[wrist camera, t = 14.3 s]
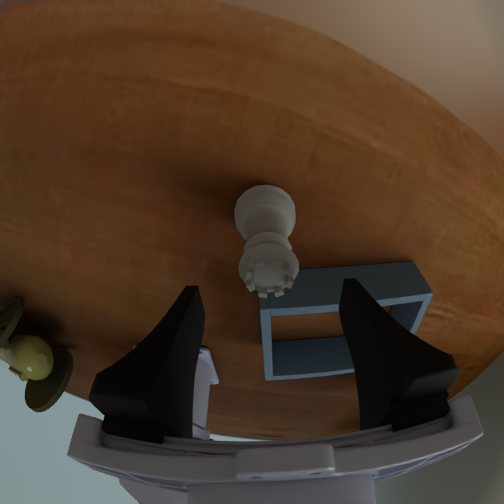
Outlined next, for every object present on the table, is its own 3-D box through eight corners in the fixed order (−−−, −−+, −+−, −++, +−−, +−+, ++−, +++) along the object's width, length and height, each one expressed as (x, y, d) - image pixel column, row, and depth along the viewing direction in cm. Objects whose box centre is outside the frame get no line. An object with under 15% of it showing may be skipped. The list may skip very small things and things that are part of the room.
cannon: (18, 356, 38) (-3, 401, 28) (-21, 313, 31) (-48, 358, 22) (90, 349, 32) (64, 419, 23) (33, 286, 26) (-12, 357, 17)
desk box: (264, 346, 30) (265, 380, 27) (258, 271, 24) (259, 309, 21) (388, 333, 30) (399, 364, 26) (413, 260, 24) (433, 292, 20)
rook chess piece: (300, 227, 22) (319, 300, 15) (245, 242, 23) (242, 317, 16) (286, 174, 19) (303, 232, 13) (226, 192, 20) (211, 257, 14)
